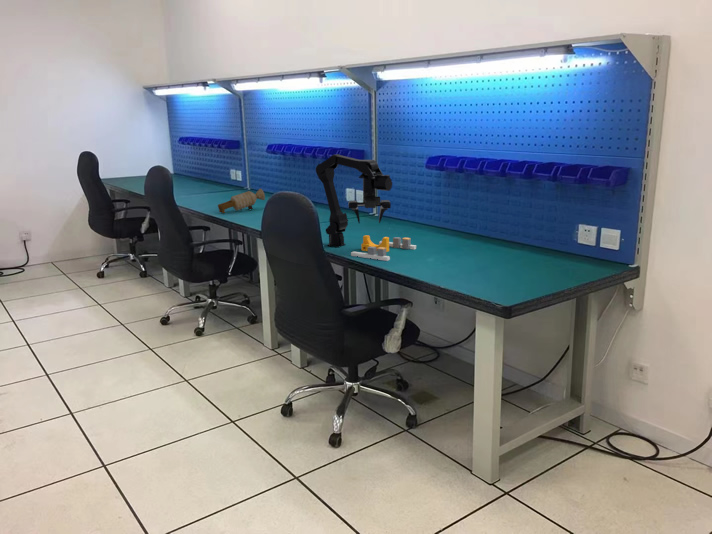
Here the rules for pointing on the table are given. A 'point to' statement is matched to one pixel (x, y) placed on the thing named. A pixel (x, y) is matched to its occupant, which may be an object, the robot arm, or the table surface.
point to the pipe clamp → (368, 243)
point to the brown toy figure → (242, 201)
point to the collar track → (381, 251)
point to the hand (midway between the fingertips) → (369, 223)
